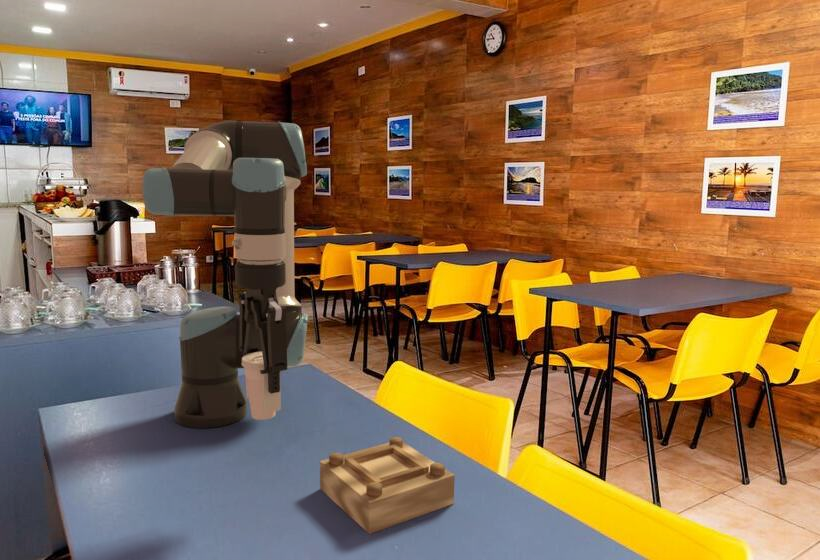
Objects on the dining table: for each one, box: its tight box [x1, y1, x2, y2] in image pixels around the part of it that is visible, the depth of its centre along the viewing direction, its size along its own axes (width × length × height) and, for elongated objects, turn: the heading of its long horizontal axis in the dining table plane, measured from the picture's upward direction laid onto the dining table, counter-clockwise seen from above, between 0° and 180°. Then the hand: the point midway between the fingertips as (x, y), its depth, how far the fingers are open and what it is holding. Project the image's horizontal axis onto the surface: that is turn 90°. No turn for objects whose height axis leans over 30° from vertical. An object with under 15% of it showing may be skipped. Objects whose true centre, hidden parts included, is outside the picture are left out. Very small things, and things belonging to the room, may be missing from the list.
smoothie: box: [241, 352, 277, 421], centre depth 98 cm, size 6×6×14 cm
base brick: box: [319, 436, 456, 535], centre depth 103 cm, size 16×16×6 cm
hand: (263, 403), depth 99 cm, fingers closed on smoothie, 6 cm apart
